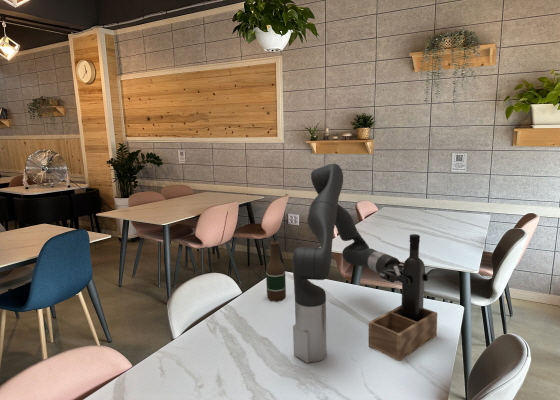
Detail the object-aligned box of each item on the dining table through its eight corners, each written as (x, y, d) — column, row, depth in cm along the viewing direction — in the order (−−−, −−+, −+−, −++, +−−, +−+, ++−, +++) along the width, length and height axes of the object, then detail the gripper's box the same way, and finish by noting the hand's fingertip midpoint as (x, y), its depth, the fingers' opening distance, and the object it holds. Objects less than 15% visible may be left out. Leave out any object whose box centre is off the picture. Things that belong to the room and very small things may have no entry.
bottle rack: (399, 361, 112) (399, 335, 110) (368, 346, 120) (368, 322, 119) (436, 335, 125) (437, 312, 123) (406, 323, 133) (406, 302, 132)
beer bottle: (289, 297, 158) (288, 240, 154) (276, 303, 152) (274, 245, 148) (276, 292, 163) (274, 237, 159) (263, 298, 158) (260, 242, 154)
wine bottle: (406, 318, 129) (409, 231, 124) (423, 323, 125) (427, 234, 120) (399, 325, 125) (402, 235, 119) (417, 330, 121) (420, 238, 116)
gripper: (367, 257, 131) (401, 272, 117) (399, 250, 137) (436, 264, 122) (366, 278, 133) (400, 296, 118) (399, 270, 139) (435, 287, 124)
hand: (418, 280), depth 120 cm, fingers closed on wine bottle, 7 cm apart
